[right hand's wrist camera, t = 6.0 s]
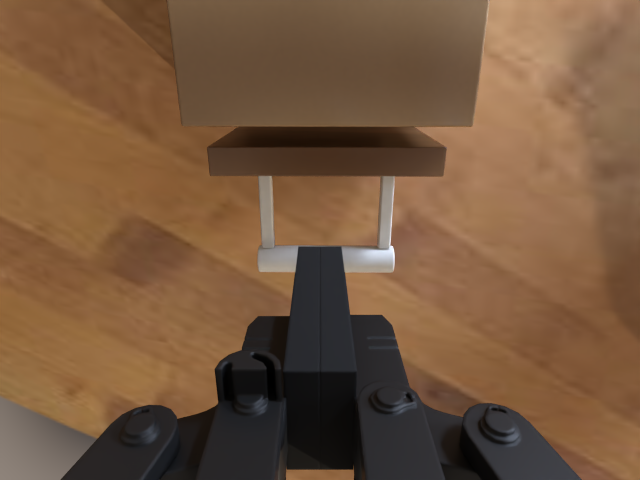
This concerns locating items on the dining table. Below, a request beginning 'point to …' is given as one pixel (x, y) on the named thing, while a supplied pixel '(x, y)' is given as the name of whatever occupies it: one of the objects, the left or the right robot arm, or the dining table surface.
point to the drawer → (327, 160)
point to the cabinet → (327, 62)
